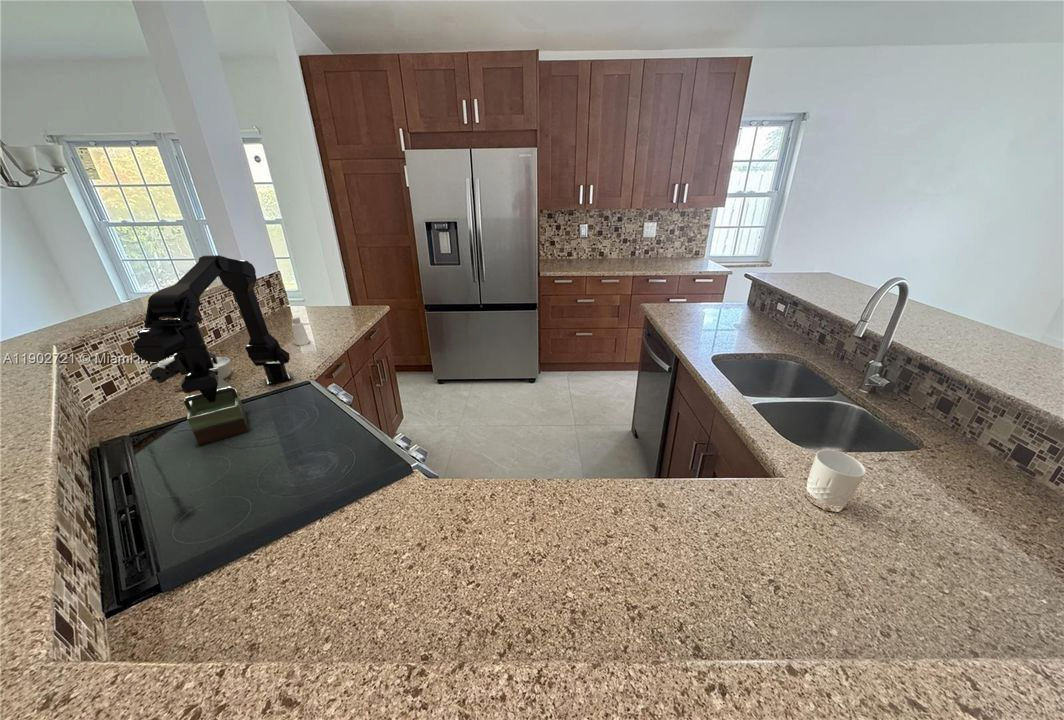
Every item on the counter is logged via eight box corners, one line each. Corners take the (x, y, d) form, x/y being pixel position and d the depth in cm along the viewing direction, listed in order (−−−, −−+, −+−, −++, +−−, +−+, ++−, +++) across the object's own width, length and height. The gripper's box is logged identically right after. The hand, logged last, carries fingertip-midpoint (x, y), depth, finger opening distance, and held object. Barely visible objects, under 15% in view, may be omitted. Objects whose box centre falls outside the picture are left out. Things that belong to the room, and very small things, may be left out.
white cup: (841, 493, 78) (859, 456, 74) (852, 521, 72) (872, 481, 68) (797, 482, 81) (812, 445, 77) (804, 507, 75) (820, 468, 71)
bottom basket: (200, 425, 100) (194, 413, 98) (245, 413, 105) (241, 401, 104) (199, 446, 92) (193, 432, 90) (248, 431, 97) (243, 418, 96)
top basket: (194, 413, 98) (183, 389, 95) (241, 401, 104) (232, 378, 101) (192, 432, 90) (181, 407, 87) (243, 418, 96) (234, 394, 93)
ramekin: (240, 375, 127) (235, 361, 125) (200, 388, 118) (194, 373, 116) (226, 367, 132) (221, 354, 130) (187, 379, 124) (180, 365, 121)
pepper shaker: (312, 340, 156) (306, 315, 151) (304, 345, 151) (297, 320, 146) (300, 340, 156) (293, 315, 152) (291, 345, 151) (284, 319, 147)
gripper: (148, 340, 91) (173, 395, 97) (137, 367, 77) (167, 428, 84) (206, 331, 97) (226, 383, 103) (205, 354, 84) (228, 412, 90)
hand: (212, 400), depth 95 cm, fingers closed on top basket
